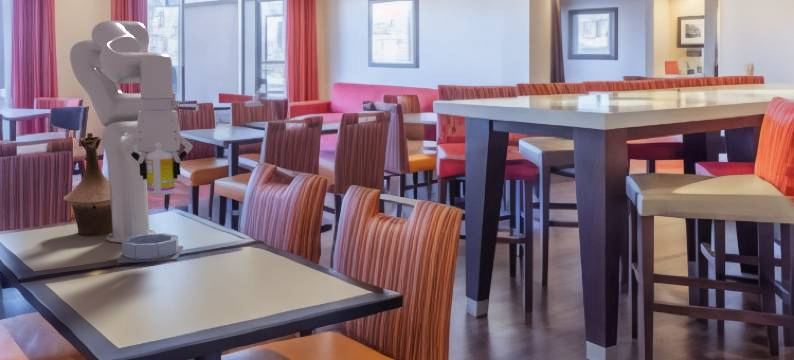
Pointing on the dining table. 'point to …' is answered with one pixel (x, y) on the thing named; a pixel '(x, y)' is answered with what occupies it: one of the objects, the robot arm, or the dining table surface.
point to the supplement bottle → (160, 172)
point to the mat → (170, 258)
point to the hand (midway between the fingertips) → (160, 177)
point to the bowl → (150, 246)
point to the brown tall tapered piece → (92, 195)
